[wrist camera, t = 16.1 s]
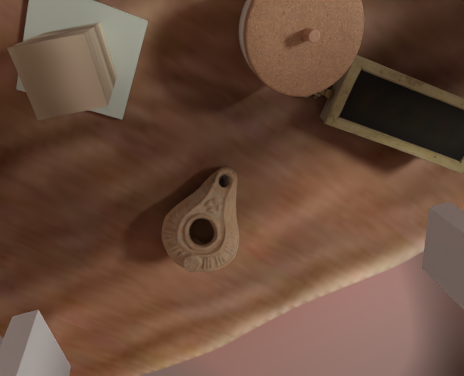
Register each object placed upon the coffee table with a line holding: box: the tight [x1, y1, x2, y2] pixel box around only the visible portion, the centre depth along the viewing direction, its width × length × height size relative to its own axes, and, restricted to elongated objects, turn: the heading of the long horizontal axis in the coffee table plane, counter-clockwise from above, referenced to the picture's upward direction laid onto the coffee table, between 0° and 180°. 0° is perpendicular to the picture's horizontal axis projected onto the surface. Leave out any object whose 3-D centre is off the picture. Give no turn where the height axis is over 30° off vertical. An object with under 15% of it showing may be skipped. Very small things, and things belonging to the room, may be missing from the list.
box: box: [302, 55, 464, 173], centre depth 44 cm, size 8×22×5 cm, turn 70°
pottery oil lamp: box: [162, 167, 239, 272], centre depth 43 cm, size 9×12×7 cm
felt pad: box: [16, 0, 148, 120], centre depth 36 cm, size 10×10×1 cm
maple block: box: [7, 22, 117, 121], centre depth 31 cm, size 5×5×11 cm
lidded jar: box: [239, 0, 364, 97], centre depth 35 cm, size 11×11×9 cm
